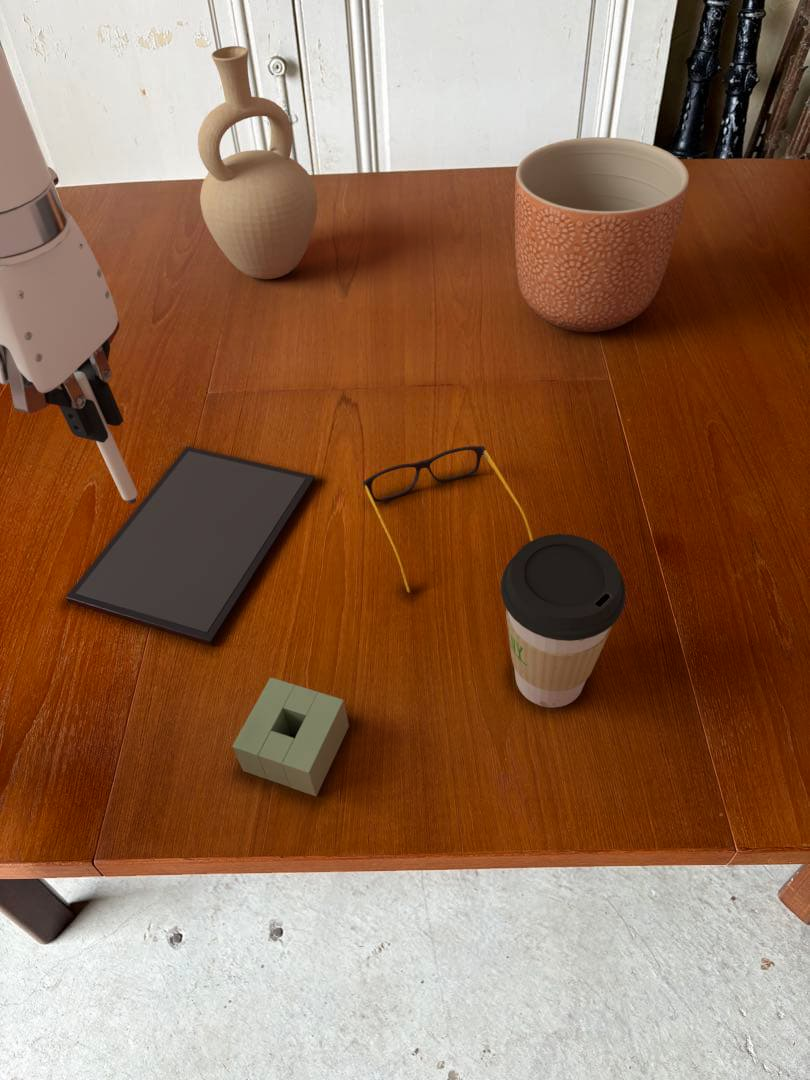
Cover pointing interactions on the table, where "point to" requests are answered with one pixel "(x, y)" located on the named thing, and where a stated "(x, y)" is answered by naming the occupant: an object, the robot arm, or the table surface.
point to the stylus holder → (282, 756)
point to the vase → (254, 181)
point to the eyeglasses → (426, 464)
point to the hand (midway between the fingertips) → (98, 428)
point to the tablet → (194, 545)
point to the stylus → (110, 449)
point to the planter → (595, 229)
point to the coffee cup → (559, 614)
